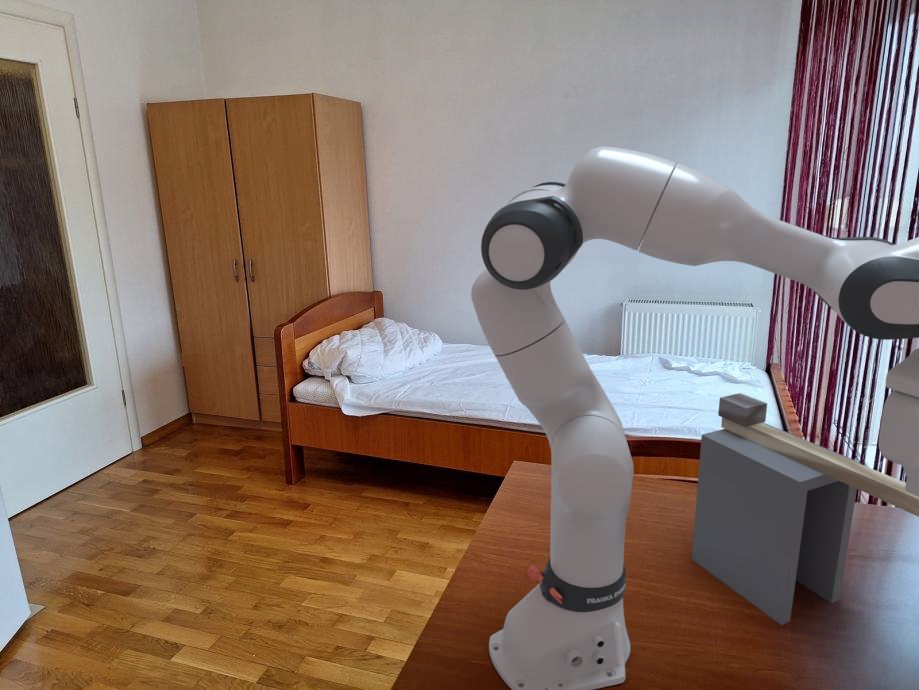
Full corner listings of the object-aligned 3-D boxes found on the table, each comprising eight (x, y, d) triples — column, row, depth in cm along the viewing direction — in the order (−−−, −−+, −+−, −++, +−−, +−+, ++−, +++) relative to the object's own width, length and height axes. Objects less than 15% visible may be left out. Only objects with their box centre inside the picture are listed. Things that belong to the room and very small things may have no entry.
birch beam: (924, 523, 84) (931, 482, 82) (717, 428, 115) (719, 397, 114) (946, 514, 85) (955, 474, 84) (737, 423, 117) (740, 393, 116)
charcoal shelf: (781, 625, 102) (799, 482, 95) (691, 559, 120) (701, 434, 113) (839, 600, 108) (861, 462, 101) (745, 540, 125) (758, 420, 118)
